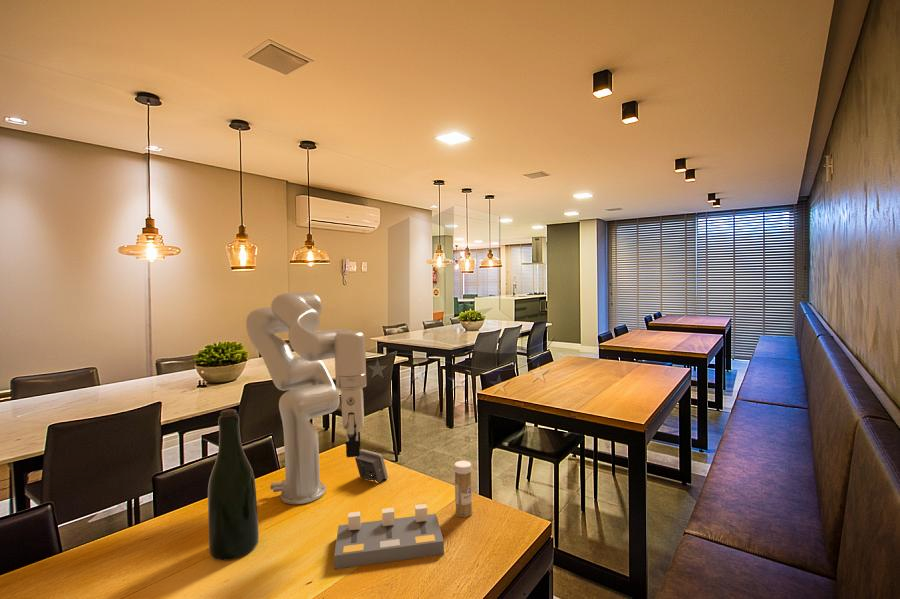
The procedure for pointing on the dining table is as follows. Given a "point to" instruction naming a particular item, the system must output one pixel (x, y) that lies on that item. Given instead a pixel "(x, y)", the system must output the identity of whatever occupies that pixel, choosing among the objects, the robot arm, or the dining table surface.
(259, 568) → the dining table surface
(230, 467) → the beer bottle
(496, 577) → the dining table surface
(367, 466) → the electrical switch
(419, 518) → the slider right
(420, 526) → the switch panel
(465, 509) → the sprinkles bottle
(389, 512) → the slider middle
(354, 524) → the slider left
